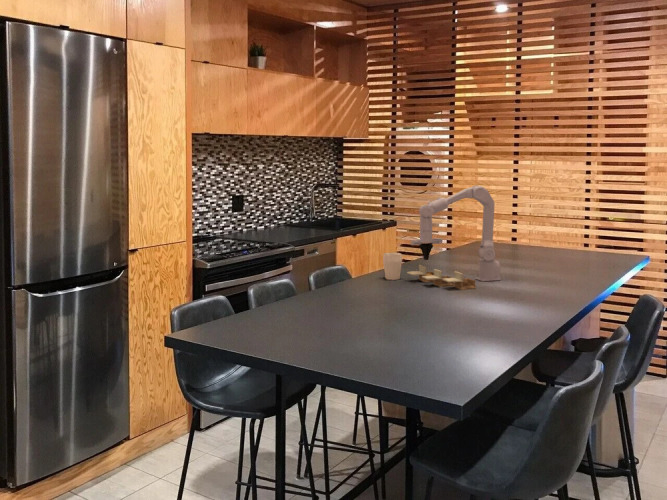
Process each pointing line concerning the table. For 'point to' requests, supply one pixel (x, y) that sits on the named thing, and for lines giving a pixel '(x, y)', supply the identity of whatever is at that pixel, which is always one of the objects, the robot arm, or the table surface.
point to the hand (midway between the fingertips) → (426, 259)
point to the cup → (392, 265)
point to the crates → (456, 284)
